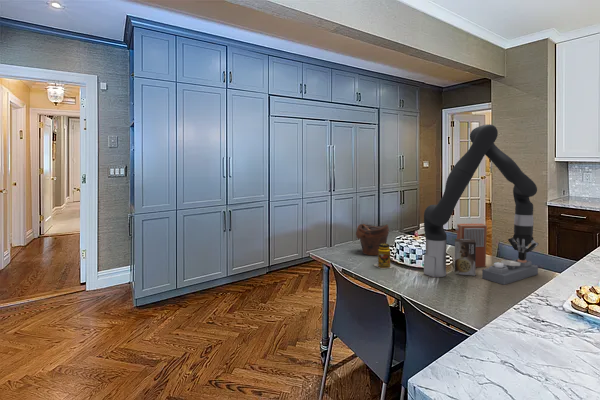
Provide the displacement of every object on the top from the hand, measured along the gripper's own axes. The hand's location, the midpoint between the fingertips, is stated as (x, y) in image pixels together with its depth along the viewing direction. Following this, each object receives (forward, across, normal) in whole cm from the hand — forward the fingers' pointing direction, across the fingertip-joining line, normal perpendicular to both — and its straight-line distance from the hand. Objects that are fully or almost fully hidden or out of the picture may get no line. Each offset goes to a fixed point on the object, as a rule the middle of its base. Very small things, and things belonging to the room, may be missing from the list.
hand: (522, 260), depth 159 cm
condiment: (+6, -43, -47) cm, 64 cm away
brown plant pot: (+6, -67, -34) cm, 76 cm away
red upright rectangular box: (+6, -20, -9) cm, 23 cm away
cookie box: (+6, -14, -22) cm, 27 cm away
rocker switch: (+1, 0, -9) cm, 9 cm away
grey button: (+1, 0, -18) cm, 18 cm away
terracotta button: (+2, 0, 0) cm, 2 cm away
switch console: (+6, 0, -9) cm, 11 cm away
